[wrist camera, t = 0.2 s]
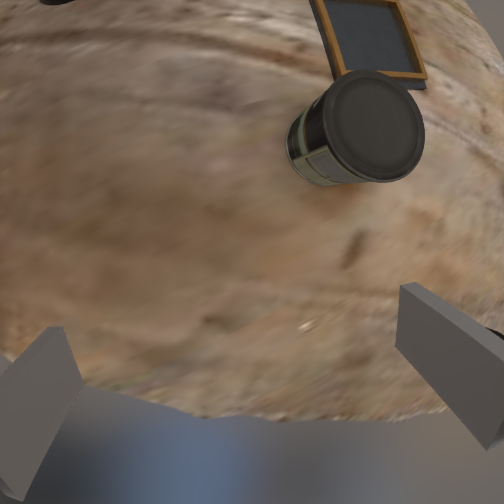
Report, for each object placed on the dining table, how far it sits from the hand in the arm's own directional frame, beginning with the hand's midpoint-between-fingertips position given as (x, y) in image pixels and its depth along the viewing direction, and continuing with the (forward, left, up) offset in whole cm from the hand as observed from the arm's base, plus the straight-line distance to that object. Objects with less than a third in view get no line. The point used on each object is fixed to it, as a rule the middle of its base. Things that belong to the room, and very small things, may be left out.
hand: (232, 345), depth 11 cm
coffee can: (-9, +15, -28) cm, 33 cm away
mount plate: (-25, +26, -27) cm, 46 cm away
